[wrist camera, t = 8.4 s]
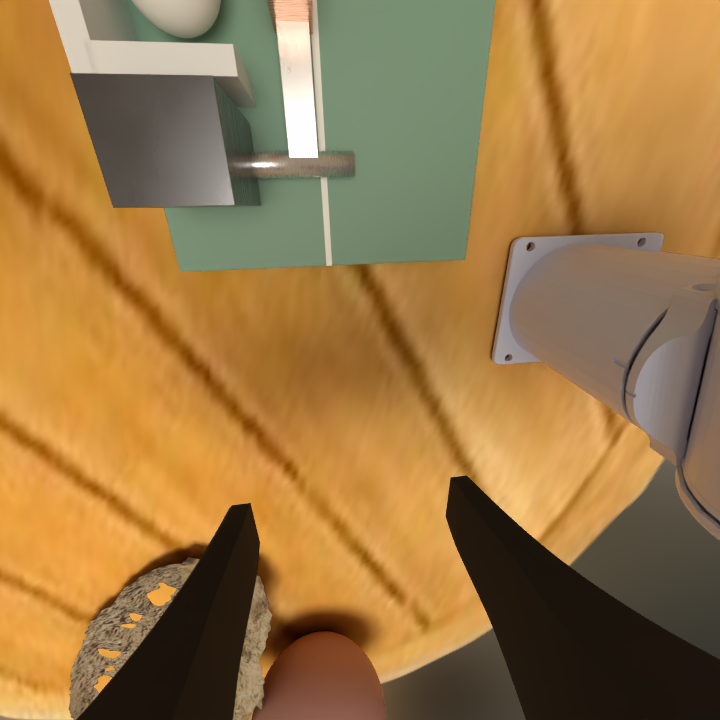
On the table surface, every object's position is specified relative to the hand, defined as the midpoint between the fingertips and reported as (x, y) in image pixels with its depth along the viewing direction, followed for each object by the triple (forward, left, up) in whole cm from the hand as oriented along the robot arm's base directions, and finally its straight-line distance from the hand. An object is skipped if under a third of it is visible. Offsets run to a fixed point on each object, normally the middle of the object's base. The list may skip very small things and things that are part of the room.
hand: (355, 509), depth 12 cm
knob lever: (+3, -14, -9) cm, 17 cm away
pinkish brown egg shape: (+4, +32, -11) cm, 34 cm away
